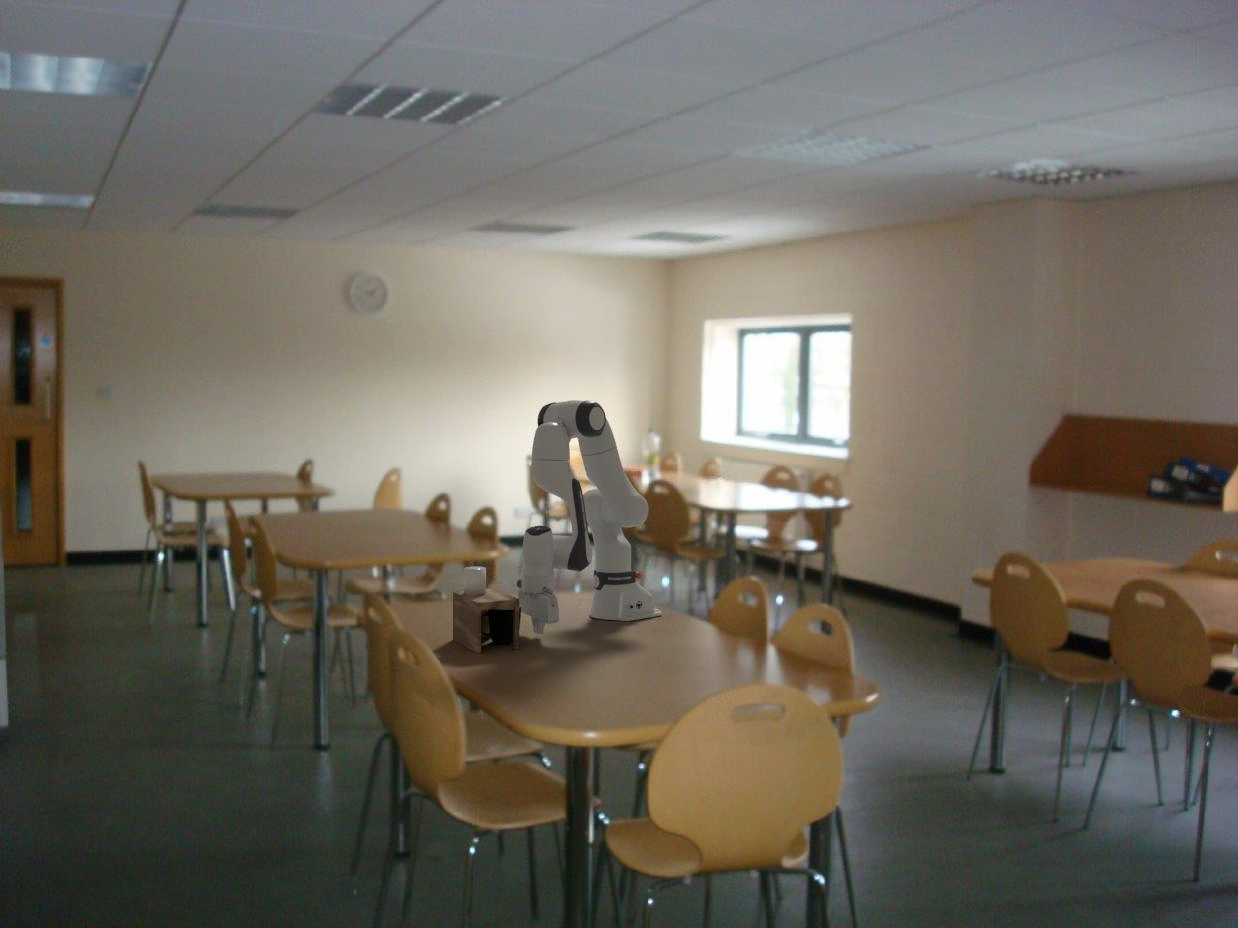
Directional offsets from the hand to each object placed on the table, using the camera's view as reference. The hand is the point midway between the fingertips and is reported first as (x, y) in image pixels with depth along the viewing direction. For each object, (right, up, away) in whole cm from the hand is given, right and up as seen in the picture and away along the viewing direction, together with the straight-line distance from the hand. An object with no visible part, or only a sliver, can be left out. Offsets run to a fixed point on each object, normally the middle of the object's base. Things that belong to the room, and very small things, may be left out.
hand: (538, 633), depth 326 cm
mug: (-10, -2, -6) cm, 12 cm away
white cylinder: (-17, +12, -6) cm, 22 cm away
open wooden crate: (-14, -2, -8) cm, 16 cm away
